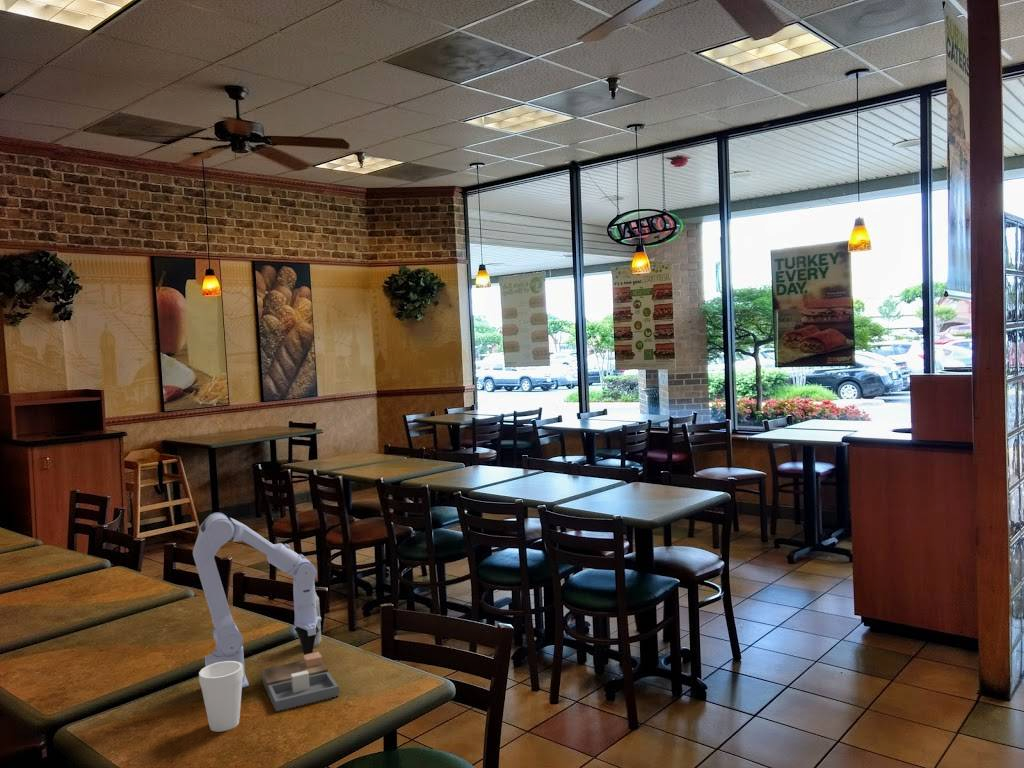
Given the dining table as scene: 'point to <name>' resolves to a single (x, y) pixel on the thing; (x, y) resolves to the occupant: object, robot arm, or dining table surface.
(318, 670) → the board
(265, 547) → the robot arm
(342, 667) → the dining table surface
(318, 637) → the energy drink can
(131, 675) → the dining table surface
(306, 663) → the tile
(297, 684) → the tile
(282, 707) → the box
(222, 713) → the foam cup
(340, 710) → the dining table surface
